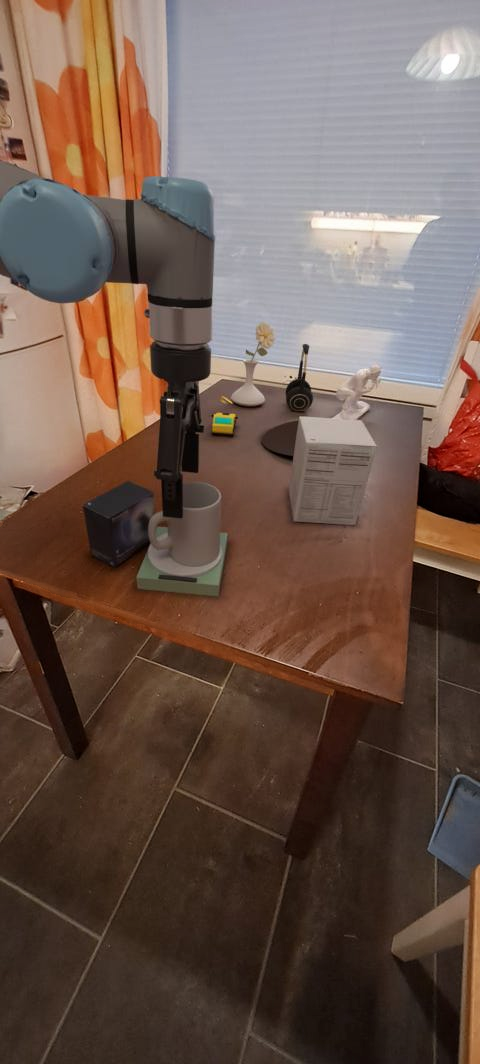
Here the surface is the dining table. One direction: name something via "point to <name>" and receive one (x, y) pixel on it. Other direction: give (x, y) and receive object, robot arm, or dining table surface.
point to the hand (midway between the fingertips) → (182, 492)
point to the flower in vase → (248, 391)
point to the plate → (281, 438)
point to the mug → (192, 526)
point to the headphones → (300, 388)
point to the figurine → (356, 393)
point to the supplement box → (330, 470)
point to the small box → (119, 522)
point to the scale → (180, 571)
